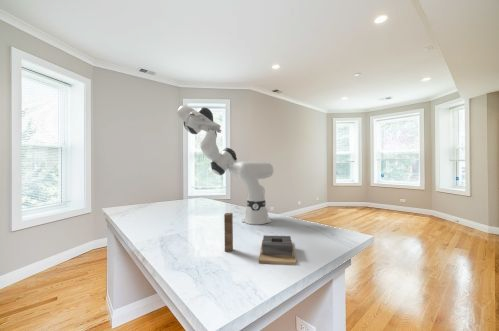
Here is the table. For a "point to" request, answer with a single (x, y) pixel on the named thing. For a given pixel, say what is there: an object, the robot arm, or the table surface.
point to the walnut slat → (228, 231)
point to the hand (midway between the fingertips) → (214, 131)
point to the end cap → (277, 250)
